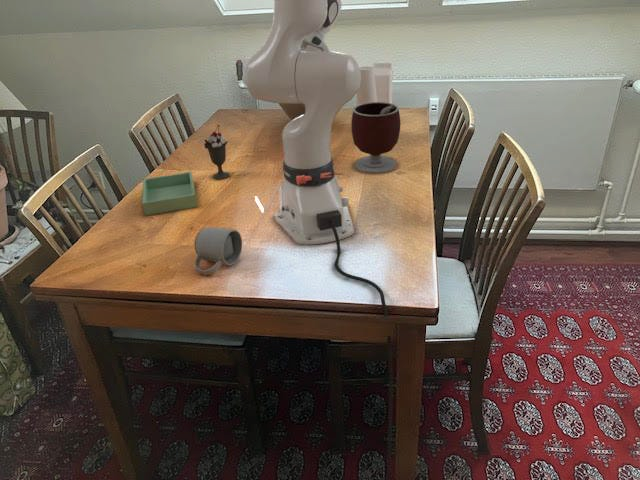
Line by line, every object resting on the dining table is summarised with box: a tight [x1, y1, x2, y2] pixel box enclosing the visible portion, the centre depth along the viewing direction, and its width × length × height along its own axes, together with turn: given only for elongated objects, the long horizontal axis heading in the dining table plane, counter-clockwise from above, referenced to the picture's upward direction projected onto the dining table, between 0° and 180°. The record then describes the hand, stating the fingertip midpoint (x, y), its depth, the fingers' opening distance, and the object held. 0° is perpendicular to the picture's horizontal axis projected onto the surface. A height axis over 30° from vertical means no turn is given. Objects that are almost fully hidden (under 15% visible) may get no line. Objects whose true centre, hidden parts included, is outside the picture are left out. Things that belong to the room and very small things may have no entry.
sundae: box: [203, 124, 230, 180], centre depth 152 cm, size 7×7×15 cm
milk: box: [373, 62, 393, 104], centre depth 180 cm, size 6×6×22 cm
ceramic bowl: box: [277, 103, 305, 121], centre depth 195 cm, size 22×23×10 cm
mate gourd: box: [351, 102, 401, 175], centre depth 151 cm, size 16×14×20 cm
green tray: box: [141, 171, 198, 216], centre depth 144 cm, size 16×13×4 cm
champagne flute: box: [355, 65, 377, 106], centre depth 167 cm, size 7×7×24 cm
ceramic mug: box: [194, 226, 243, 276], centre depth 113 cm, size 11×8×8 cm
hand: (281, 78), depth 159 cm, fingers open, 8 cm apart
